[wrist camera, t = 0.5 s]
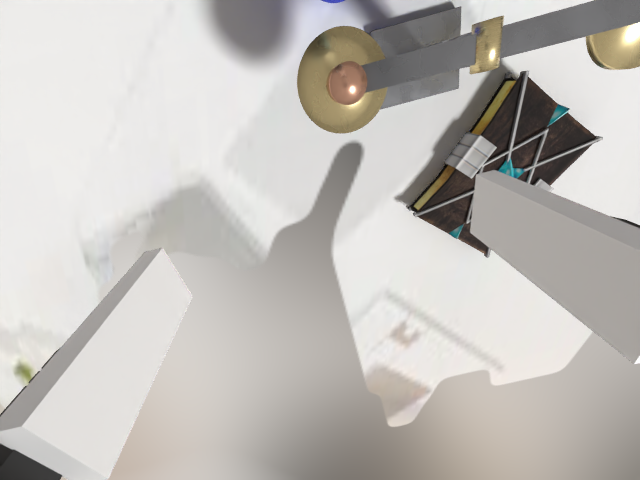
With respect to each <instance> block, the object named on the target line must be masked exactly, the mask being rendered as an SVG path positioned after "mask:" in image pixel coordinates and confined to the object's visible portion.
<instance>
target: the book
mask: <svg viewBox="0 0 640 480" xmlns="http://www.w3.org/2000/svg"><path fill="white" fill-rule="evenodd" d="M528 74H529V71H522V72H520V77H519V78H518V79H517V81H516V80H515V79H513V78H512V77H511V73H507V74H505V79H504V80H503V82H502V83H501V85H500V87H499V88H498V90H497V91H496V93H495V94H494V96H493V97H492V99H491V101H490V102H489V104H488V105H487V107H486V108H485V110H484V111H483V113H482V115H481V116H480V118H479V119H478V121H477V122H476V123H475V125H474V126H473V128H472V129H471V130H470V132H466V133H465V135H464V136H463V137H462V139H461V140H460V141H459V143H458V144H457V146H456V147H455V148H454V150H453V151H452V152H451V154H450V155H449V156H448V158H447V159H446V160H445V162H444V163H446V165H445V166H444V168H443V169H442V171H441V172H440V173H439V175H438V176H437V177H436V179H435V180H434V181H433V182H432V183H431V184H430V185H429V186H428V187H427V188H426V190H425V191H424V192H423V193H422V194H421V195H420V196H419V197H418V198H417V199H416V201H415V202H414V203H413V204H412V205H411V206H410V207H408V209H409V210H412V211H414V213H413V215H414V216H415V217H419V218H421V219H423V220H425V221H427V222H428V223H430V224H432V225H434V226H436V227H437V228H439V229H441V230H443V231H445V232H447V233H448V234H450V235H451V236H453V237H454V238H456V239H457V238H458V239H459V240H461V241H463V242H465V243H467V244H468V245H470V246H472V247H474V248H475V249H477V250H479V251H481V252H482V253H484V256H486V257H487V258H488V257H489V255H490V251H491V249H490V248H489V247H488V246H486V245H485V244H484V243H483V242H481V241H480V240H479V239H478V238H476V237H475V236H474V235H473V234H471V233H470V228H471V218H472V209H473V199H474V189H475V180H476V174H480V173H484V172H488V171H492V170H496V171H499V172H501V173H504V174H506V175H509V176H511V177H514V178H516V179H518V180H521V181H523V182H526V183H528V184H531V185H533V186H536V187H538V188H541V189H543V190H546V191H548V192H551V191H552V190H553V189H554V188H552V187H551V186H550V185H551V184H552V183H553V182H554V181H555V180H556V179H557V178H558V177H559V176H560V175H561V174H562V173H563V172H564V171H565V170H566V169H567V168H568V167H569V166H570V165H572V164H573V163H574V162H575V161H576V160H577V159H578V158H579V157H580V156H581V155H582V154H583V153H584V152H585V151H586V150H587V149H588V148H589V147H590V146H591V145H592V144H593V143H595V142H598V141H600V140H602V139H603V137H599V136H595V135H593V134H592V133H591V132H590V131H589V130H587V129H586V128H585V127H584V126H582V125H581V124H580V123H579V122H578V121H576V120H575V119H574V118H573V117H572V116H571V115H570V114H568V113H567V112H568V111H569V110H570V109H569V108H567V107H564V106H561V105H559V104H557V103H556V102H555V101H554V100H553V99H552V98H551V97H549V96H548V95H547V94H546V93H545V92H544V91H543V90H542V89H541V88H540V87H539V86H538V85H536V84H535V83H534V82H533V81H532V80H531V79H530V78H529V77H528ZM415 212H416V213H415Z"/></svg>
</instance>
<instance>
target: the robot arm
mask: <svg viewBox="0 0 640 480" xmlns="http://www.w3.org/2000/svg"><path fill="white" fill-rule="evenodd" d="M470 233H471V234H473V235H474V236H475V237H476V238H478V239H479V240H480V241H481V242H483V243H484V244H485V245H486V246H488V247H489V248H490V249H491V250H492V251H494V252H495V253H496V254H497V255H499V256H500V257H501V258H502V259H504V260H505V261H506V262H507V263H509V264H510V265H511V266H512V267H514V268H515V269H516V270H517V271H519V272H520V273H521V274H522V275H524V276H525V277H526V278H527V279H529V280H530V281H531V282H532V283H534V284H535V285H536V286H537V287H539V288H540V289H541V290H542V291H543V292H545V293H546V294H547V295H548V296H550V297H551V298H552V299H553V300H555V301H556V302H557V303H558V304H560V305H561V306H562V307H563V308H565V309H566V310H567V311H568V312H570V313H571V314H572V315H573V316H575V317H576V318H577V319H578V320H580V321H581V322H582V323H583V324H585V325H586V326H587V327H588V328H589V329H591V330H592V331H593V332H594V333H596V334H597V335H598V336H599V337H601V338H602V339H603V340H605V341H606V342H607V343H608V344H609V345H611V346H612V347H613V348H614V349H616V350H617V351H618V352H619V353H621V354H622V355H623V356H624V357H626V358H627V359H628V360H629V361H631V362H632V363H633V364H636V363H640V225H637V224H635V223H632V222H630V221H627V220H624V219H620V218H615V217H611V216H608V215H605V214H603V213H600V212H598V211H595V210H593V209H590V208H588V207H585V206H583V205H580V204H578V203H576V202H573V201H571V200H568V199H566V198H563V197H561V196H558V195H556V194H553V193H551V192H548V191H546V190H543V189H541V188H538V187H536V186H533V185H531V184H528V183H526V182H523V181H521V180H518V179H516V178H514V177H511V176H509V175H506V174H504V173H501V172H499V171H496V170H492V171H488V172H484V173H480V174H476V180H475V189H474V199H473V209H472V218H471V228H470ZM192 297H193V296H192V294H191V293H190V291H189V290H188V288H187V286H186V285H185V283H184V281H183V280H182V278H181V276H180V275H179V273H178V272H177V270H176V268H175V267H174V265H173V264H172V262H171V260H170V259H169V257H168V255H167V254H166V252H165V251H164V249H163V248H159V249H155V250H151V251H146V252H144V253H143V254H142V256H141V257H140V258H139V259H138V260H137V261H136V262H135V264H134V265H133V266H132V267H131V268H130V269H129V270H128V272H127V273H126V274H125V275H124V276H123V277H122V278H121V280H120V281H119V282H118V283H117V284H116V285H115V286H114V288H113V289H112V290H111V291H110V292H109V293H108V295H107V296H106V297H105V298H104V299H103V300H102V301H101V302H100V304H99V305H98V306H97V307H96V308H95V309H94V310H93V311H92V313H91V314H90V315H89V316H88V317H87V318H86V319H85V321H84V322H83V323H82V324H81V325H80V326H79V327H78V329H77V330H76V331H75V332H74V333H73V334H72V335H71V337H70V338H69V339H68V340H67V341H66V342H65V343H64V345H63V346H62V347H61V348H59V349H58V350H57V351H56V352H55V353H54V354H53V355H52V357H51V358H50V359H49V360H48V361H47V362H46V363H45V364H44V366H43V367H42V370H41V371H38V372H37V374H36V375H35V376H34V377H33V378H32V379H31V380H30V381H29V384H28V386H25V387H24V388H23V389H22V391H21V392H20V393H19V394H18V395H17V396H16V397H15V398H14V400H13V401H12V402H11V403H10V404H9V405H8V406H7V408H6V409H5V410H4V411H3V412H2V413H1V414H0V480H60V479H61V477H64V478H66V479H68V480H106V479H109V477H110V475H111V472H112V470H113V468H114V466H115V464H116V461H117V459H118V457H119V455H120V453H121V450H122V449H123V446H124V444H125V442H126V440H127V438H128V436H129V433H130V431H131V429H132V427H133V425H134V422H135V420H136V418H137V416H138V414H139V412H140V409H141V407H142V405H143V403H144V401H145V398H146V396H147V394H148V392H149V390H150V388H151V386H152V383H153V381H154V379H155V377H156V375H157V373H158V371H159V368H160V366H161V364H162V362H163V360H164V357H165V355H166V353H167V351H168V349H169V347H170V345H171V342H172V340H173V338H174V335H175V334H176V331H177V329H178V327H179V325H180V323H181V321H182V318H183V316H184V314H185V312H186V310H187V308H188V305H189V303H190V301H191V299H192Z"/></svg>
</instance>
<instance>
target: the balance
mask: <svg viewBox="0 0 640 480" xmlns="http://www.w3.org/2000/svg"><path fill="white" fill-rule="evenodd" d="M503 21H504V16H500V17H496V18H493V19H489V20H486V21H483V22H479V23H476V24H474V25H472V32H471V33H467V34H464V35H461V36H460V30H461V7H457V8H454V9H450V10H447V11H443V12H439V13H436V14H432V15H429V16H425V17H421V18H418V19H414V20H411V21H407V22H404V23H400V24H396V25H393V26H389V27H386V28H382V29H378V30H375V31H372V32H370V35H369V34H367V33H366V32H364V31H362V30H361V29H358V28H355V27H350V26H339V27H334V28H332V29H329V30H327V31H325V32H323V33H321V34H320V35H319V36H318V37H316V38H315V39H314V40H313V41H312V42H311V44H310V45H309V46H308V48H307V49H306V51H305V53H304V55H303V57H302V60H301V62H300V66H299V70H298V76H297V88H298V95H299V99H300V102H301V104H302V107H303V109H304V110H305V112H306V114H307V115H308V116H309V118H310V119H311V120H312V121H313V122H314V123H315V124H316V125H318V126H319V127H320V128H322V129H324V130H326V131H329V132H333V133H349V132H353V131H356V130H358V129H360V128H362V127H363V126H365V125H366V124H368V123H369V122H370V121H371V120H372V119H373V118H374V117H375V116H376V114H377V113H378V111H379V110H380V109H384V108H388V107H391V106H395V105H399V104H403V103H406V102H410V101H414V100H417V99H421V98H425V97H429V96H432V95H436V94H440V93H444V92H447V91H451V90H455V89H458V88H459V69H460V68H464V67H470V74H475V73H481V72H485V71H489V70H493V69H497V68H499V62H500V58H503V57H507V56H511V55H515V54H519V53H523V52H527V51H531V50H535V49H539V48H542V47H546V46H550V45H554V44H558V43H562V42H566V41H570V40H574V39H578V38H582V37H585V36H586V45H587V50H588V53H589V55H590V57H591V59H592V60H593V61H594V62H595V64H596V65H598V66H600V67H601V68H604V69H609V70H620V69H631V68H636V67H639V66H640V0H594V1H591V2H587V3H584V4H580V5H577V6H573V7H569V8H566V9H562V10H559V11H555V12H551V13H548V14H544V15H541V16H537V17H533V18H530V19H526V20H523V21H519V22H515V23H512V24H508V25H505V26H503Z"/></svg>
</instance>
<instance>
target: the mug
mask: <svg viewBox="0 0 640 480" xmlns="http://www.w3.org/2000/svg"><path fill="white" fill-rule="evenodd" d="M322 1H324V2H328V3H338V2H342V1H344V0H322Z"/></svg>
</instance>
